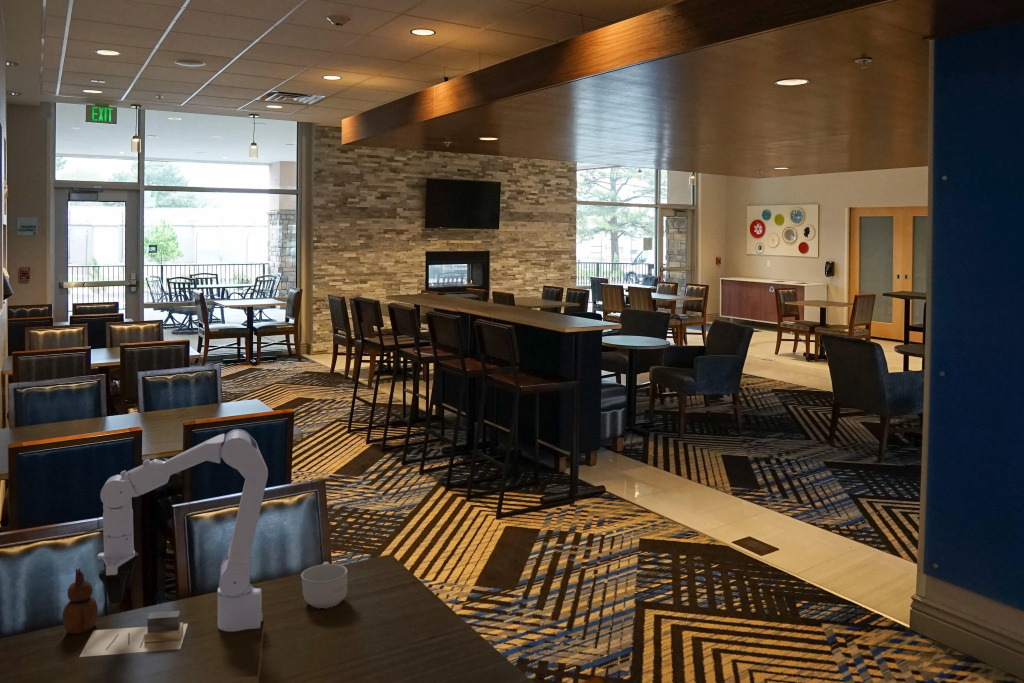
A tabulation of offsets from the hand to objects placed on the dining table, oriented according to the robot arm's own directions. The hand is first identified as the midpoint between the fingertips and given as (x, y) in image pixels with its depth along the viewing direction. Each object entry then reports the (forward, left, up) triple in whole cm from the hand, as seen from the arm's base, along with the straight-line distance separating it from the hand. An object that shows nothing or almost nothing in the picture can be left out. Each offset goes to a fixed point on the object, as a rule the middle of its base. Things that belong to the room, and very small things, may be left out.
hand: (120, 595), depth 173 cm
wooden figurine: (+9, -5, -10) cm, 15 cm away
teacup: (-43, -13, -10) cm, 46 cm away
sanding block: (-9, +3, -9) cm, 13 cm away
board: (-3, +3, -10) cm, 11 cm away
